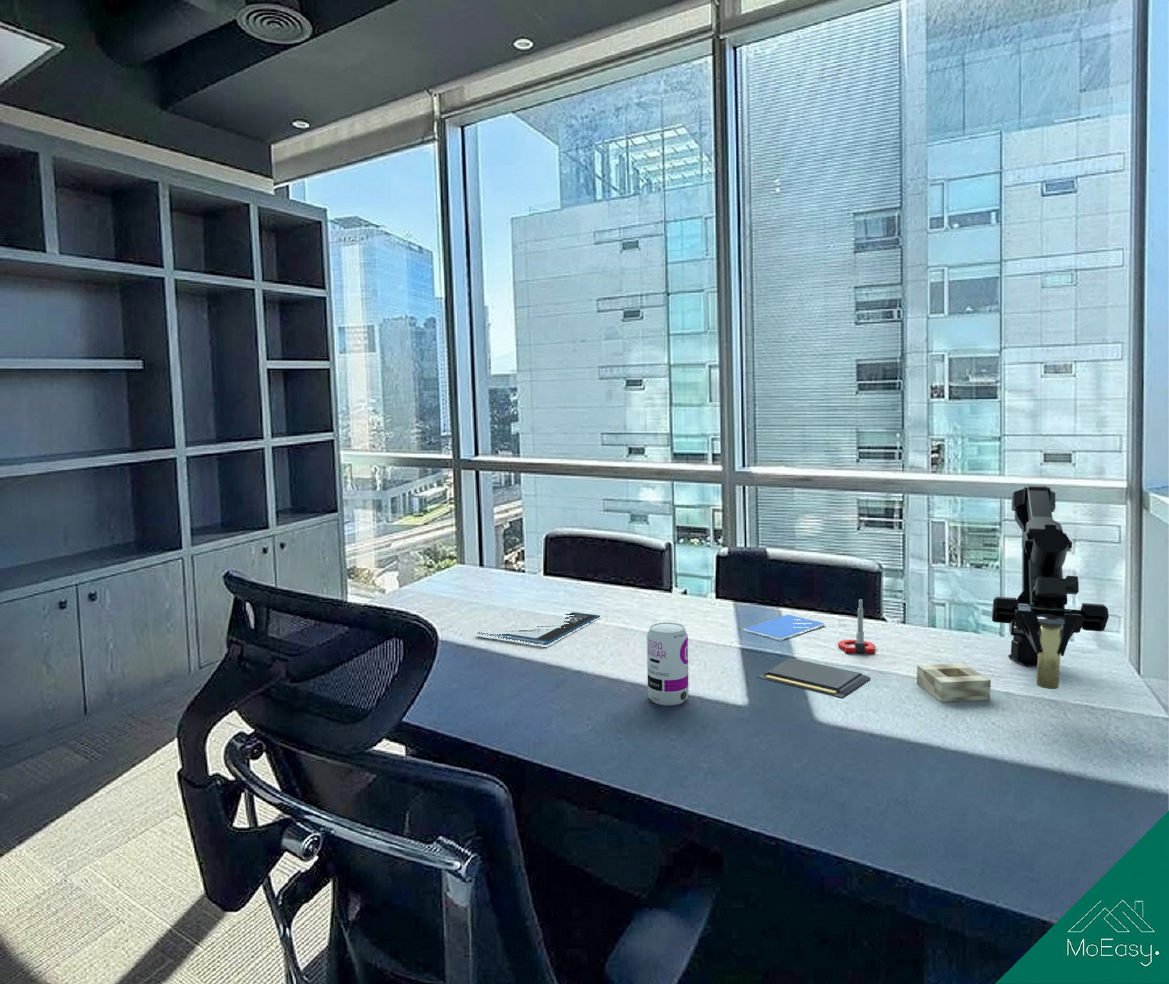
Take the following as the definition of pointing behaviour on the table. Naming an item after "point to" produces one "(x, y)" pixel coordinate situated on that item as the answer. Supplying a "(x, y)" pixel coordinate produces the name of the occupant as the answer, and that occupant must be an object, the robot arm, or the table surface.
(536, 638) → the sketchbook
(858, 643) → the tow hook
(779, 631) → the tablet computer
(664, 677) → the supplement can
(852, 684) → the dark gray book
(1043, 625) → the brass pin
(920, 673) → the socket block
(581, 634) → the table surface
